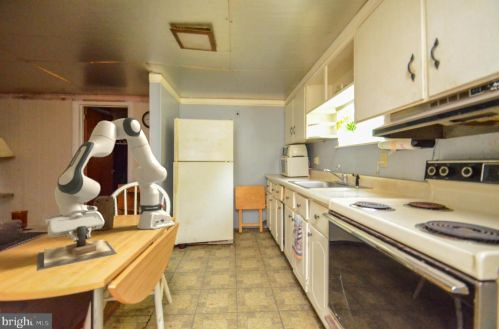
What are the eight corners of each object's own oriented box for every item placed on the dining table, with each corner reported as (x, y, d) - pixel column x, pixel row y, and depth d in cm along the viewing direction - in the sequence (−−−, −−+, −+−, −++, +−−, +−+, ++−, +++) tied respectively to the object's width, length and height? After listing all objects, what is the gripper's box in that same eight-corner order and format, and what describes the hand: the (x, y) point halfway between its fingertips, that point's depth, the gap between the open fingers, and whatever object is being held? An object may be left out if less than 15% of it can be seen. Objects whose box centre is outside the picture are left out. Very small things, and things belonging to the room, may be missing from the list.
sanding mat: (106, 242, 121) (106, 240, 121) (117, 255, 104) (117, 253, 104) (38, 254, 104) (38, 252, 104) (36, 272, 87) (36, 270, 87)
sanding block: (65, 251, 101) (66, 226, 101) (84, 246, 107) (84, 223, 107) (77, 256, 96) (78, 230, 96) (96, 251, 102) (96, 226, 102)
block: (114, 227, 150) (115, 195, 150) (111, 230, 142) (111, 196, 143) (95, 228, 147) (95, 195, 147) (90, 231, 140) (90, 197, 140)
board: (102, 242, 118) (102, 239, 118) (110, 253, 104) (110, 249, 104) (44, 252, 104) (44, 249, 104) (44, 267, 89) (44, 263, 89)
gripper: (45, 212, 97) (54, 241, 91) (100, 206, 114) (110, 230, 108) (41, 222, 99) (49, 250, 94) (95, 214, 116) (105, 238, 111)
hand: (82, 239), depth 101 cm, fingers closed on sanding block, 3 cm apart
